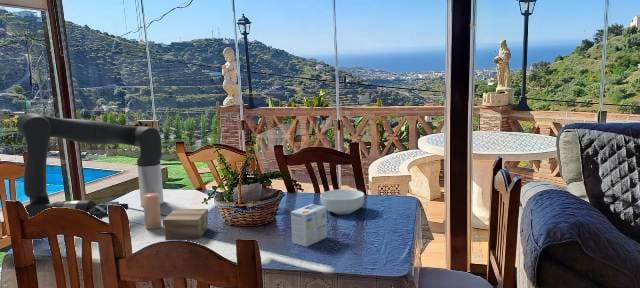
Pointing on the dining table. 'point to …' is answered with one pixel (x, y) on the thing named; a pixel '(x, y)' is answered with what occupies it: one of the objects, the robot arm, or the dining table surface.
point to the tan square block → (185, 224)
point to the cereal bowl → (342, 200)
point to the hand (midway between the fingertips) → (122, 210)
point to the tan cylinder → (152, 211)
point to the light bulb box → (309, 224)
